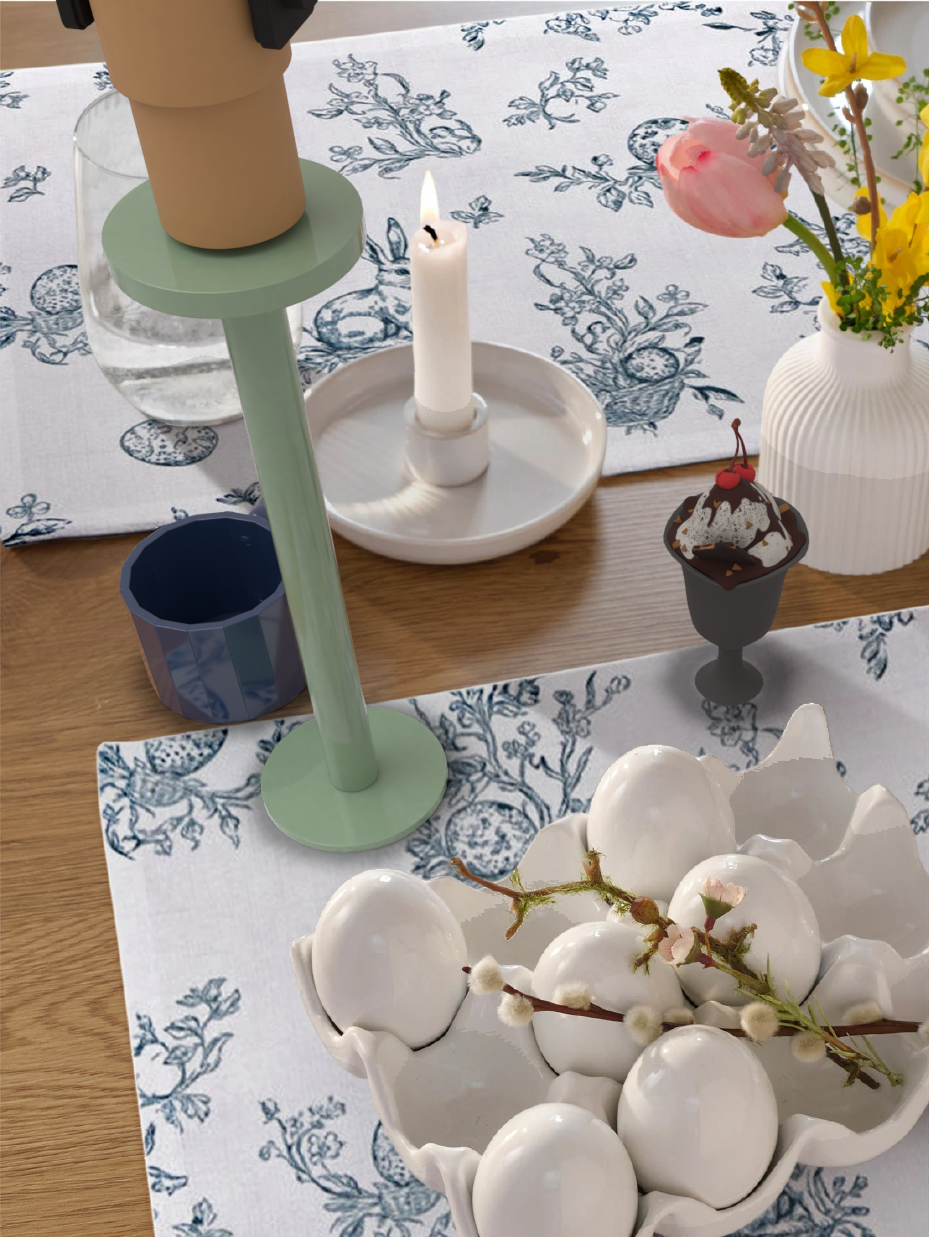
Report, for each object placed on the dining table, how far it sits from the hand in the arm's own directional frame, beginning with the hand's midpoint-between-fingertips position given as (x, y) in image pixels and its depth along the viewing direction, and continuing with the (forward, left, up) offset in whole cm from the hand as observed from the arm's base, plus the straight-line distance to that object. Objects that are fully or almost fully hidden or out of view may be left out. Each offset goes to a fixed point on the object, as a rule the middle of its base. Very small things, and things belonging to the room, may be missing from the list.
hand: (190, 14), depth 50 cm
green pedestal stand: (0, 0, -37) cm, 37 cm away
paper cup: (0, 0, -7) cm, 7 cm away
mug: (-9, +8, -37) cm, 39 cm away
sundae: (+16, +11, -37) cm, 42 cm away
